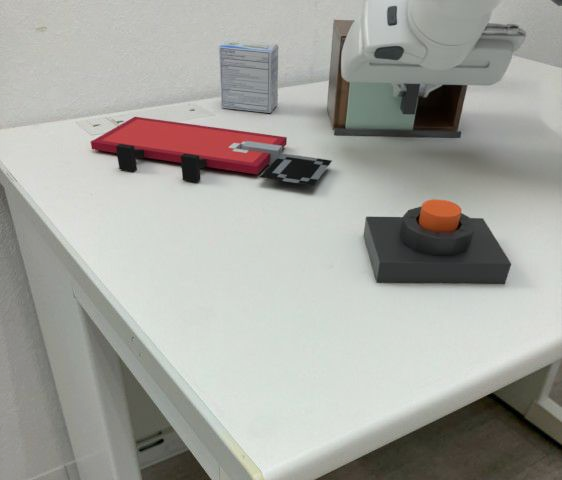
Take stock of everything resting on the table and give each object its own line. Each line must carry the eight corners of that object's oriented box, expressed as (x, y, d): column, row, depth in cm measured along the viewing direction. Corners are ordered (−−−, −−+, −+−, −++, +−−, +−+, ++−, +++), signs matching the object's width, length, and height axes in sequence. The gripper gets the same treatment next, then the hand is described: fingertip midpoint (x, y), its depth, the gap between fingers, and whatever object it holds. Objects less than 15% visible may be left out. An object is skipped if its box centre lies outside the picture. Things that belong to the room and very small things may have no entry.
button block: (477, 237, 61) (487, 201, 59) (504, 284, 55) (517, 245, 52) (363, 236, 61) (368, 199, 58) (376, 283, 54) (382, 244, 52)
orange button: (451, 216, 57) (456, 199, 56) (461, 234, 54) (466, 216, 53) (415, 216, 57) (418, 198, 56) (422, 234, 54) (426, 216, 53)
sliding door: (411, 128, 84) (426, 43, 77) (416, 136, 82) (431, 49, 75) (345, 127, 84) (353, 41, 77) (347, 135, 81) (356, 47, 74)
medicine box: (278, 105, 92) (279, 43, 86) (270, 114, 89) (271, 50, 83) (229, 100, 93) (228, 38, 88) (220, 108, 90) (218, 45, 84)
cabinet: (441, 110, 93) (458, 23, 85) (460, 137, 84) (481, 42, 76) (326, 108, 92) (333, 19, 84) (334, 135, 83) (342, 38, 75)
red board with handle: (308, 199, 66) (340, 155, 77) (309, 175, 64) (342, 133, 75) (75, 162, 73) (136, 127, 84) (71, 139, 71) (133, 106, 82)
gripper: (532, 0, 66) (484, 71, 80) (351, -6, 66) (334, 67, 79) (533, 53, 66) (485, 116, 80) (352, 48, 65) (335, 112, 79)
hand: (409, 92), depth 80 cm, fingers closed, pressing on sliding door
